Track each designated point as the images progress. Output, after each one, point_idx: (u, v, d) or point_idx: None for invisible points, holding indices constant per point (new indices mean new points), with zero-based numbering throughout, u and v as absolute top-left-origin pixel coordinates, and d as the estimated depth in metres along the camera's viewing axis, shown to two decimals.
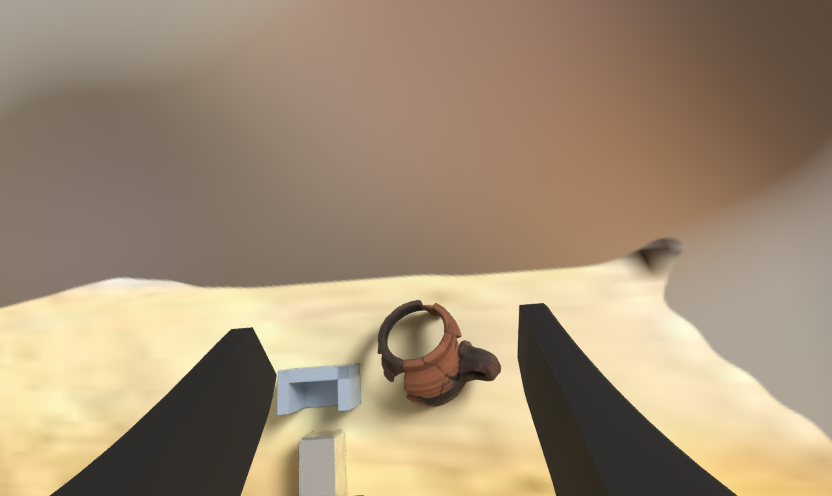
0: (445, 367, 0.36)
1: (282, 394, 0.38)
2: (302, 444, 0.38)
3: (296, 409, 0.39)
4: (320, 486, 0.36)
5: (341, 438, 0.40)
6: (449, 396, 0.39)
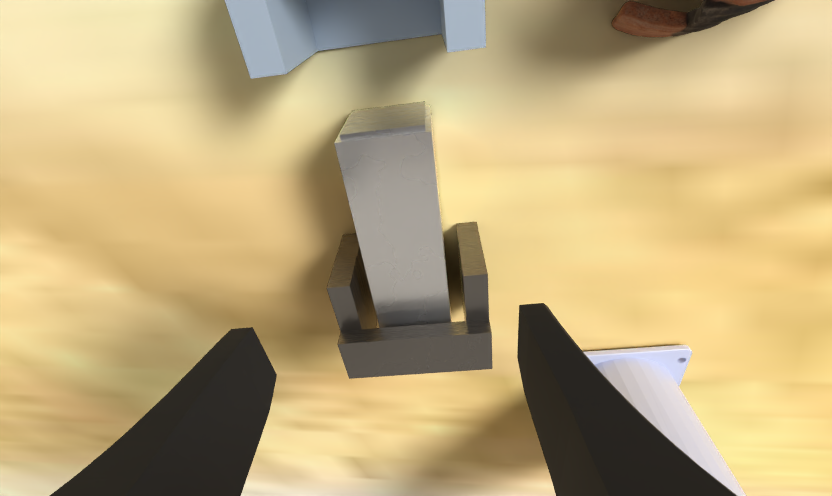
0: None
1: (245, 7, 0.11)
2: (345, 151, 0.14)
3: (301, 57, 0.13)
4: (406, 233, 0.16)
5: (431, 123, 0.16)
6: None
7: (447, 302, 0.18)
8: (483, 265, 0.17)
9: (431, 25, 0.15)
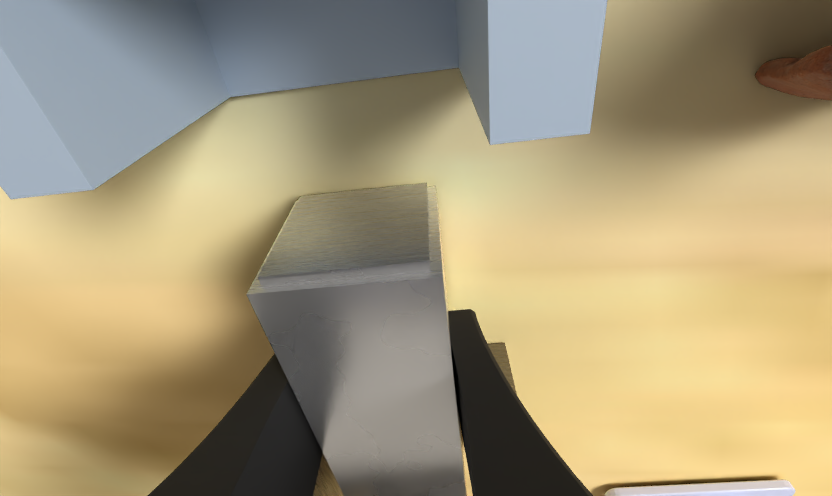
0: None
1: None
2: (271, 307, 0.07)
3: (168, 126, 0.06)
4: (394, 418, 0.09)
5: (439, 225, 0.09)
6: None
7: (463, 494, 0.11)
8: None
9: (439, 52, 0.08)
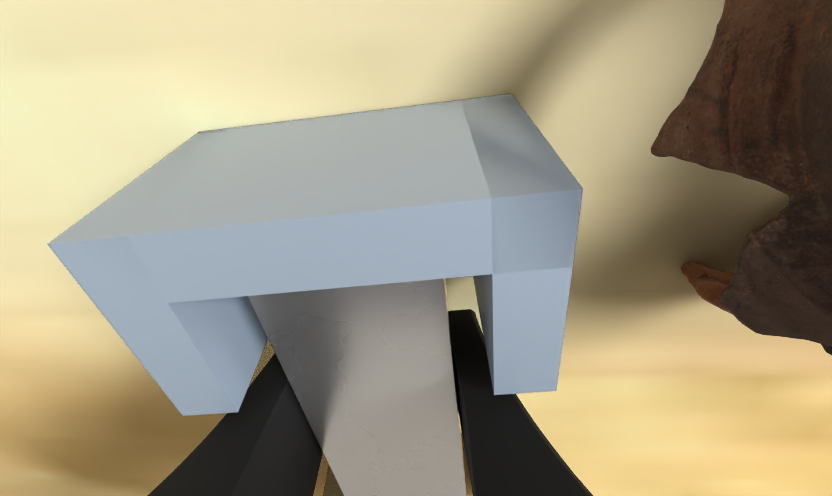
0: None
1: (161, 351, 0.07)
2: (272, 308, 0.07)
3: None
4: (394, 418, 0.09)
5: None
6: None
7: (463, 494, 0.11)
8: None
9: None
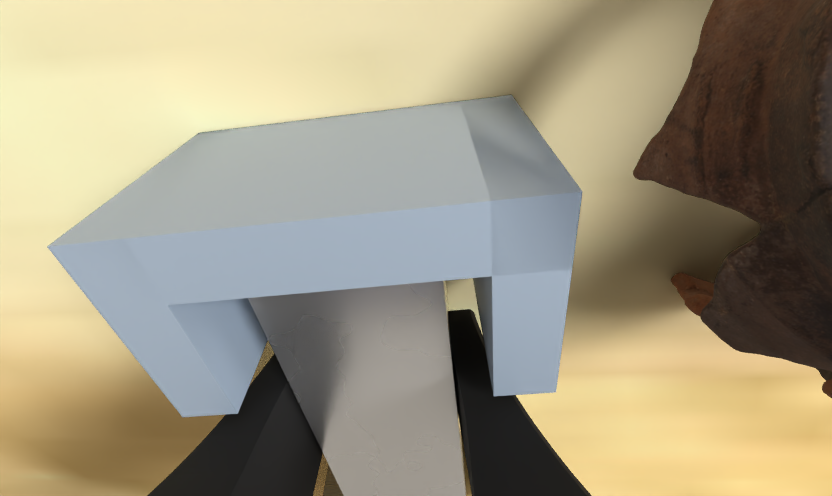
0: None
1: (161, 352, 0.07)
2: (272, 309, 0.07)
3: None
4: (394, 418, 0.09)
5: None
6: None
7: (463, 494, 0.11)
8: None
9: None
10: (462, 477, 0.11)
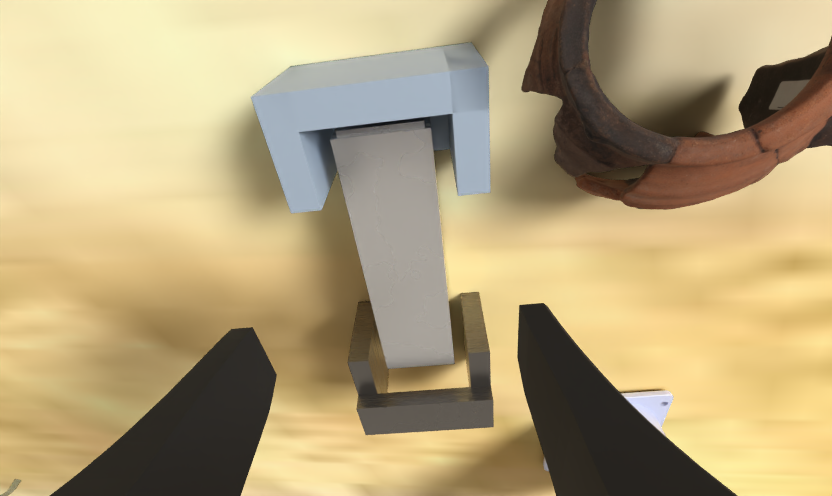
0: (793, 144, 0.11)
1: (289, 164, 0.13)
2: (342, 148, 0.14)
3: (330, 182, 0.15)
4: (404, 232, 0.15)
5: (430, 120, 0.15)
6: None
7: (446, 303, 0.18)
8: (486, 341, 0.19)
9: (441, 142, 0.17)
10: (445, 285, 0.17)
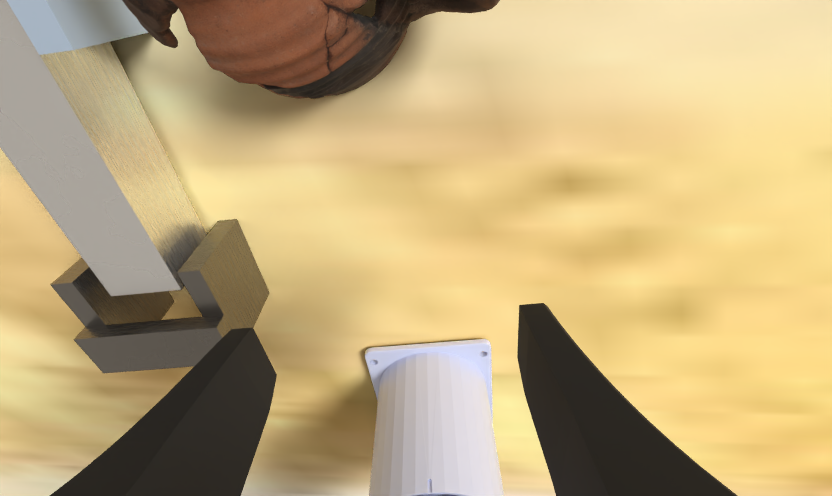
0: None
1: None
2: None
3: None
4: (34, 115, 0.14)
5: None
6: (367, 69, 0.14)
7: (131, 210, 0.16)
8: (203, 262, 0.17)
9: None
10: (118, 187, 0.15)
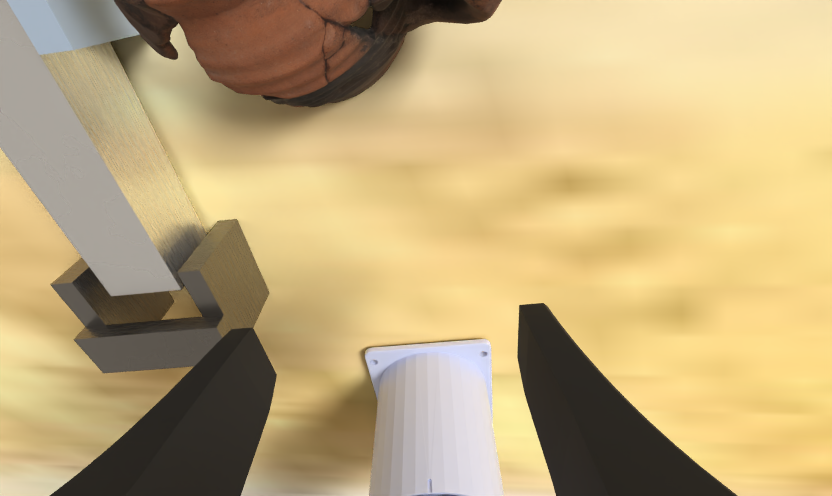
0: None
1: None
2: None
3: None
4: (34, 115, 0.14)
5: None
6: (364, 78, 0.15)
7: (131, 210, 0.16)
8: (203, 262, 0.17)
9: None
10: (118, 187, 0.15)
